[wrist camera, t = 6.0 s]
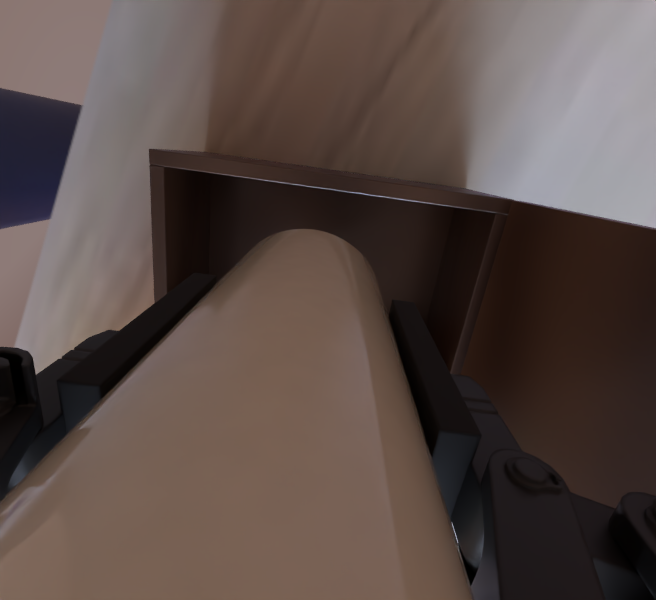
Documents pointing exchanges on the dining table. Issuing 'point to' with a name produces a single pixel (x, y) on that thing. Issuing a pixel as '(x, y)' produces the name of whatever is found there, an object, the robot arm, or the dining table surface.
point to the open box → (331, 230)
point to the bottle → (247, 456)
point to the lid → (573, 347)
